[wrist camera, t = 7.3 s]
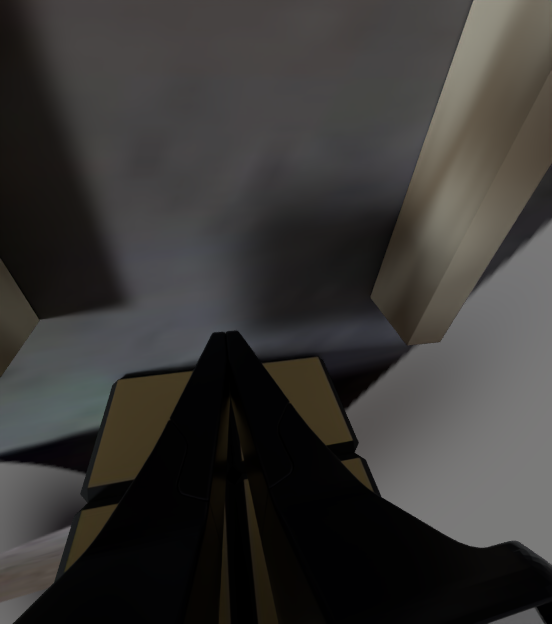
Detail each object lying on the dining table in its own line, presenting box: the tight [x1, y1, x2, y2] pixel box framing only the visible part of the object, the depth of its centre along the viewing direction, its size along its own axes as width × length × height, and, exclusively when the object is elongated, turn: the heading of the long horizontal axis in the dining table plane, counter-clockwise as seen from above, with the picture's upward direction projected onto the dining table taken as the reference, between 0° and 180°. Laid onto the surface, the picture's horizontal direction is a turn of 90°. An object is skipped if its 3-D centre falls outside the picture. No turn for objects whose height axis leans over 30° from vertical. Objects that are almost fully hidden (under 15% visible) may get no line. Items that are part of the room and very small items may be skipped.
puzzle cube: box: [55, 356, 381, 624], centre depth 13 cm, size 10×10×10 cm
